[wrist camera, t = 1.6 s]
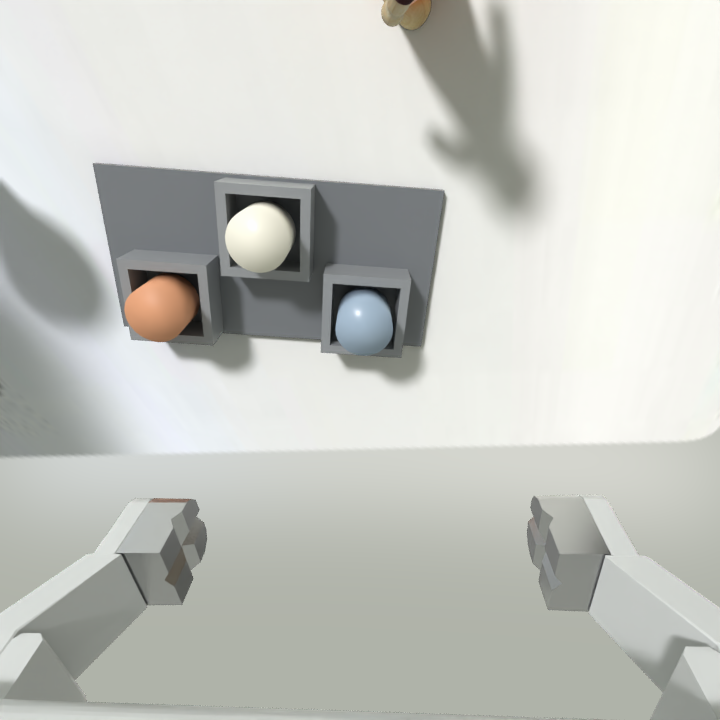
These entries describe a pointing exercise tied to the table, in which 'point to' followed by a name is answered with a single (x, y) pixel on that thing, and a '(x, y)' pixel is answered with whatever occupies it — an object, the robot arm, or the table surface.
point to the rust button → (162, 307)
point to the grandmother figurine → (406, 12)
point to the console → (302, 264)
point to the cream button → (260, 236)
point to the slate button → (364, 321)
